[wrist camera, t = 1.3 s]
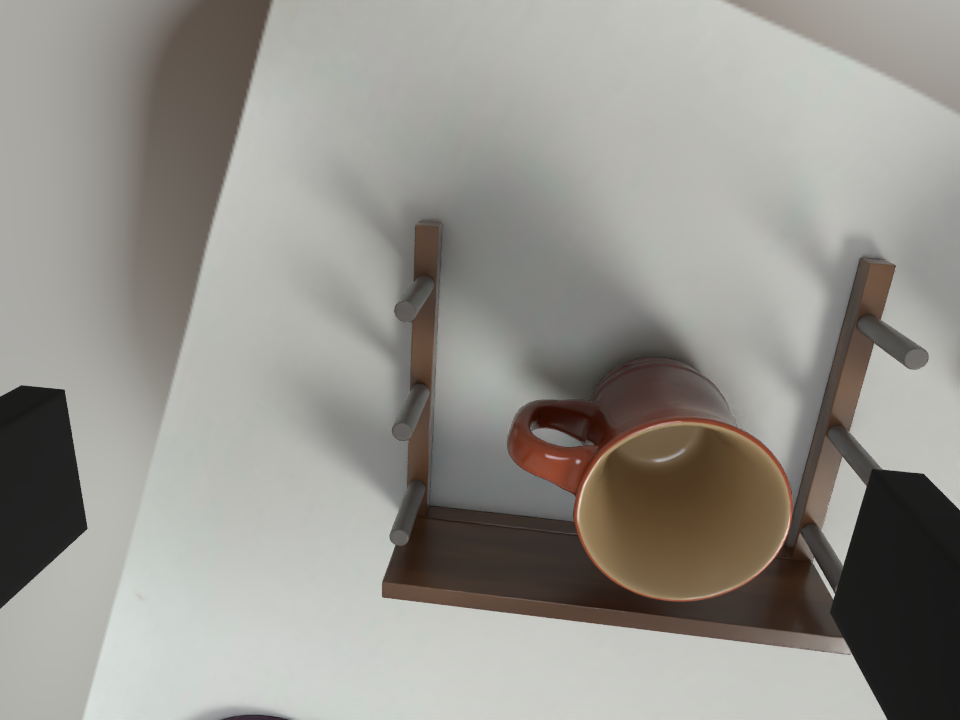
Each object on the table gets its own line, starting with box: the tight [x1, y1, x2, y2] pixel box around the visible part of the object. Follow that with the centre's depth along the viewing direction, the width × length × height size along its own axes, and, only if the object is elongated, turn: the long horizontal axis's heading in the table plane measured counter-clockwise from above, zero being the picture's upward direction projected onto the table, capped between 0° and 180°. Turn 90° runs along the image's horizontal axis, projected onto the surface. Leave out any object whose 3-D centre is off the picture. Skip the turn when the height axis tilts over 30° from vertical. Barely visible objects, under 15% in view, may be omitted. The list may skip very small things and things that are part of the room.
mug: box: [507, 357, 793, 601], centre depth 33 cm, size 12×9×10 cm
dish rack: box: [382, 221, 928, 655], centre depth 35 cm, size 18×23×7 cm
